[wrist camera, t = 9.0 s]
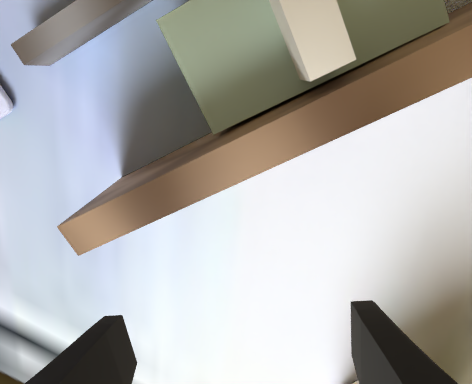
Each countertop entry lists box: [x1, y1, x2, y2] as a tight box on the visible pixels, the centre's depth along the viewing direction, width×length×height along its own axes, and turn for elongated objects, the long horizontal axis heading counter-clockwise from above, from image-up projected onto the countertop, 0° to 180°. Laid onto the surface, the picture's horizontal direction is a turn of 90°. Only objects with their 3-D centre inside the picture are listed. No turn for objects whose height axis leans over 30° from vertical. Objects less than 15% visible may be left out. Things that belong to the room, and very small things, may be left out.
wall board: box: [11, 0, 472, 256], centre depth 13 cm, size 24×10×6 cm, turn 117°
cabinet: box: [156, 0, 450, 135], centre depth 13 cm, size 10×5×7 cm, turn 116°
